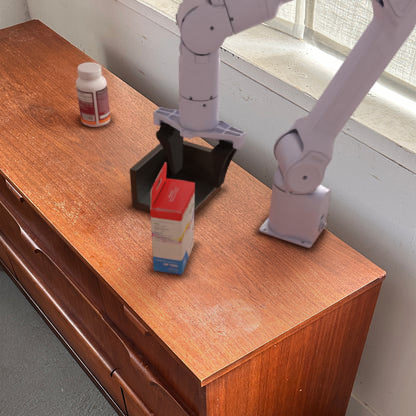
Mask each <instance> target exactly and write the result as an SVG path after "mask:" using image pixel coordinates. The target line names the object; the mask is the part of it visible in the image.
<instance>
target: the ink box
mask: <svg viewBox="0 0 416 416" xmlns="http://www.w3.org/2000/svg"><path fill="white" fill-rule="evenodd" d="M166 171H167V163H166V162H165V163H164V165H163V167H162V169H161V171H160V173H159V175H158V176H157V178H156V180H155V182H154V184H153V186H152V188H151V192H150V213H149V217H150V232H151V246H152V247H151V249H152V265H153V266H152V268H153V271H154V272H162V273H167V274H174V275H180V276H181V275H183V274H184V270H185V268H186V265H187V263H188V261H189V258H190V255H191V253H192V251H193V248H194V245H195V217H194V192H195V183H193V182H189V181H183V180H175V179H166ZM159 180H160V183H159ZM158 183H159V185H158ZM157 185H158V187H157Z"/></svg>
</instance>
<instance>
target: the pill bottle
mask: <svg viewBox="0 0 416 416" xmlns="http://www.w3.org/2000/svg"><path fill="white" fill-rule="evenodd" d="M77 75H78V77H77V78H76V81H75V88H76V94H77V102H78V109H79V116H80V121H81V123H82V124H83V125H85V126H86V127H91V128H98V127H103V126H106V125H107V124H108V123H110V121H111V110H110V100H109V90H108V82H107V79H106V77H105V76H104V75H103V71H102V66H101V64H99V63H96V62H91V61H89V62H88V61H87V62H83V63H80V64H79V65H78V66H77Z"/></svg>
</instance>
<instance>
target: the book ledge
mask: <svg viewBox="0 0 416 416" xmlns="http://www.w3.org/2000/svg"><path fill="white" fill-rule="evenodd" d="M212 149H213V148H211V147H207V146H205V145H201V144H197V143H195V142H191V141H187V140H184V139H183V162H182V169H181V170H180V171H178V172H177V173H176V174H173V173H172V171H171V167H170V164H169V161H168V158H167V155H166V153H165V151H164V149H163V147H162V145H161V143H160V142H159V143H158V144H157V145H156V146H155V147H154V148H153V149H152V150H150V151H148V153H147V154H145V156H143V157H142V158H141V159H140V160H138V161H136V163H135V164H134V165H132V166H131V167H130V168H129V179H130V193H131V206H132V208H133V209H136V210H140V211H142V212H145V213H148V214H150V192H151V188H152V186H153V184H154V182H155V180H156V178H157V176H158V175H159V173H160V171H161V169H162V167H163V165H164V163H165V162H166V163H167V171H166V179H175V180H183V181H189V182H193V183H195V192H194V218H195V217H196V216H198V214H200V212H201V211H202V210H203V209H204V208H205V207H206V206H207V205H208V204H209V203H210V201H212V199H213V198H214V197H216V195H217V194H218V193H219V192H220V191H221V190H222V185H221V186H220V187H219V188H216V187H214V162H213V157H212V153H211V150H212ZM159 183H160V180H159ZM159 183H158V185H159ZM158 185H157V187H158Z"/></svg>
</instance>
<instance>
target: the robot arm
mask: <svg viewBox="0 0 416 416" xmlns="http://www.w3.org/2000/svg"><path fill="white" fill-rule="evenodd" d="M292 1H294V0H182V1H181V2H180V3H179V5H178V8H177V11H176V13H175V23H176V25H177V27H178V29H179V33H180V36H179V40H180V41H179V46H178V50H179V56H178V109H174V108H173V109H172V108H166V107H162V106H159V107H158V108H157V109H155V110H154V111H153V112H152V114H153V115H152V117H153V125H155V126H158V127H159V128H158V130H157V131H156V132H155V138H156V140H158V142H159V144H160V143H161V145H162V147H163V149H164V151H165V153H166V155H167V158H168V161H169V164H170V167H171V171H172V173H173V174H176V173H177V172H178V171H180V170H181V169H182V162H183V140H184V138H185V139H189V140H190V139H191V140H192V139H194V138H203V139H205V138H206V139H210V140H214V141H217V142H218V144H216V145H215V146H214V147H213V148H211V149H212V150H211V153H212V157H213V162H214V187H216V188H219V187H220V186H221V187H222V185H223V184H224V183H225V180H226V176H227V173H228V170H229V167H230V164H231V162H232V160H233V158H234V156H235V155H236V153H237V151H238V150H241V149H242V148H243V147H244V145H246V134H247V132H246V131H245V130H242V129H239V128H237V127H235V126H233V125H231V124H230V123H228V122H226V121H224V120H223V119H220V118H219V112H220V111H219V109H220V88H221V87H220V83H221V56H220V54H221V52H220V51H221V47H222V45H223V44H224V42H225V40H226V39H228V38H230V37H233V36H235V35H237V34H240V33H242V32H245V31H248V30H250V29H252V28H254V27H257V26H260V25H262V24H265V23H266V22H269V21H272V20H274V19H275V18H276V17H277V15H278V13H279V12H280V10H281V7H282V6H283V5H284V4H287V3H291V2H292ZM370 1H371V6H372V13H373V16H372V19H371V20H370V22H369V23H368V25H367V26H366V28H365V29H364V31H363V32H362V34H361V35H360V36H359V39H358V40H357V41H356V43H355V44H354V46H353V47H352V49H351V50H350V51H349V53H348V55H347V56H346V57H345V59H344V61H343V62H342V64H340V67H339V68H338V69H337V71H336V72H335V74H334V76H333V77H332V79H331V80H330V81H329V83H328V85H327V86H326V87H325V89H324V90H323V92H322V93H321V95H320V96H319V98H318V99H317V101H316V102H315V104H314V105H313V107H312V108H311V109H310V111H309V113H308V114H307V115H306V116H304V117H300V118H297V119H295V121H294V123H293V124H292V125H291V126H290V128H289V129H288V130H285V131H284V132H282V133H281V134H280V135H279V136H277V139H276V140H275V142H274V145H273V156H274V158H275V160H276V161H277V163H278V166H277V168H276V170H275V172H274V174H273V179H272V186H271V196H270V205H269V214H268V217H267V218H266V220H265V221H264V222H263V223H262V224H261V225H260V227H259V229H258V231H259V233H262V234H266V235H267V236H270V237H274V238H277V239H280V240H283V241H286V242H288V243H292V244H294V245H298V246H301V247H304V248H307V249H310V248H311V247H312V246H313V245H314V243H315V242H316V240H317V239H318V238H319V236H320V235H321V234H322V232H323V230H324V229H325V227H326V226H327V218H328V213H329V209H330V202H331V198H332V191H331V189H330V188H327V187H325V186H324V185H322V182H323V181H324V178H325V175H326V174H325V173H326V170H327V167H328V166H329V164H330V163H331V161H332V159H333V154H334V149H335V142H336V141H335V140H336V138H337V137H338V135H339V134H340V132H341V131H342V130H343V128H344V127H345V126H346V124H347V123H348V121H349V120H350V119H351V117H352V116H353V114H354V113H355V111H357V109H358V107H359V106H360V105H361V104H362V102H363V100H364V99H365V98H366V96H367V95H368V94H369V92H370V91H371V89H372V88H374V87H373V86H374V85H375V84H376V83H377V81H378V80H379V78H380V77H381V75H382V74H383V73H384V71H385V70H386V68H387V67H388V66H389V65H390V63H391V62H392V61H393V59H394V58H395V56H396V55H397V54H398V52H399V51H400V49H401V48H402V47H403V45H404V44H405V42H406V41H407V40H408V38H409V37H410V35H411V34H412V32H413V31H414V29H415V28H416V0H370Z"/></svg>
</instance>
